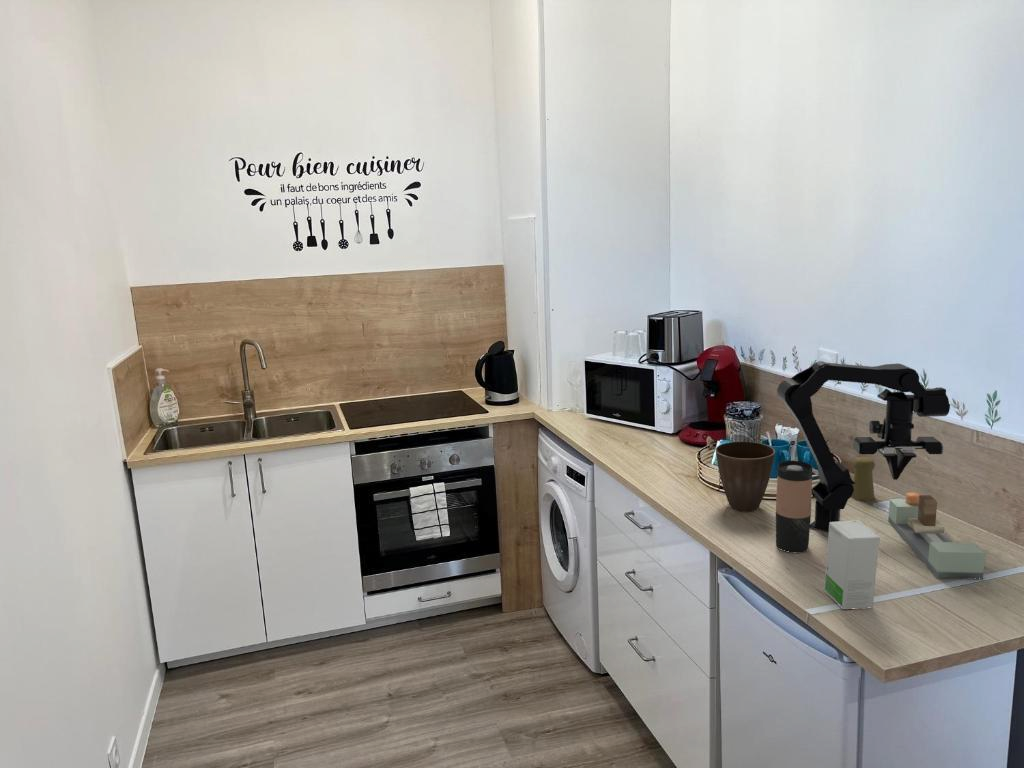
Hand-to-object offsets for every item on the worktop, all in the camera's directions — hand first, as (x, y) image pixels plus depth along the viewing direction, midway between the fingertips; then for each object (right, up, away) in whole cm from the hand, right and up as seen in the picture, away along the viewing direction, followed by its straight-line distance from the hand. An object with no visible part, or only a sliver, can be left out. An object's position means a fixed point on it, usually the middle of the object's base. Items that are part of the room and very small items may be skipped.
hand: (894, 479), depth 184 cm
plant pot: (-31, -10, +18) cm, 37 cm away
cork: (+2, -8, +21) cm, 23 cm away
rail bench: (+3, -14, -10) cm, 18 cm away
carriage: (+4, -11, -7) cm, 13 cm away
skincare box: (-25, -21, -31) cm, 45 cm away
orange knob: (+5, -8, +1) cm, 9 cm away
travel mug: (-27, -15, -6) cm, 32 cm away
